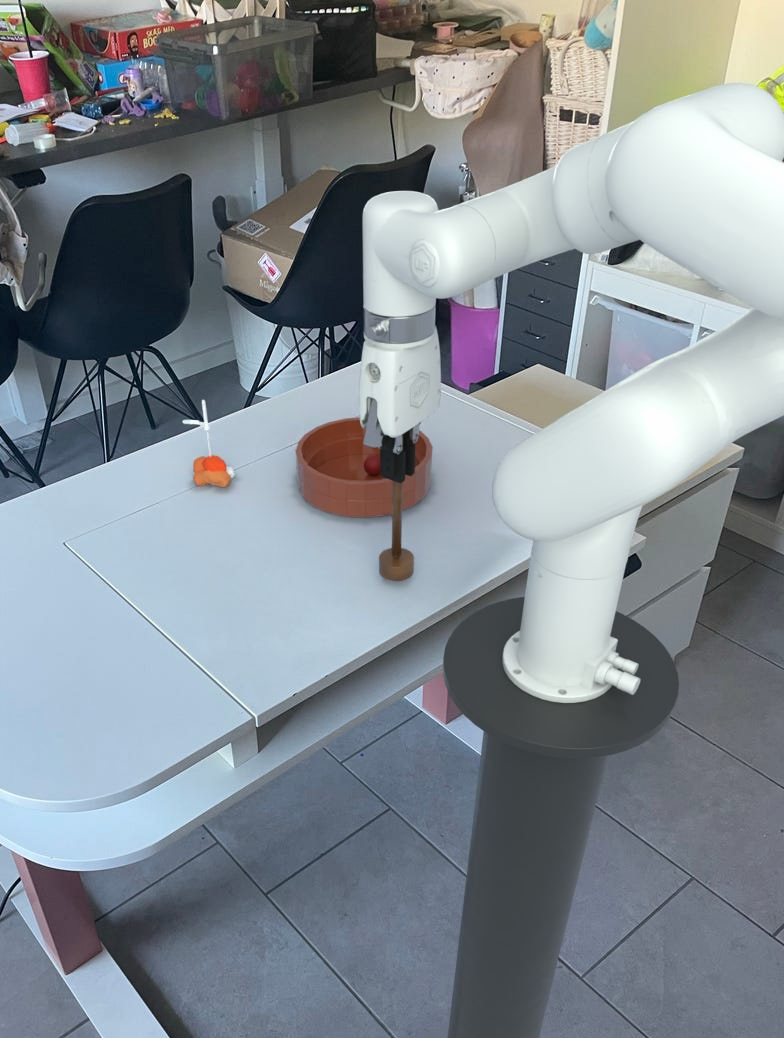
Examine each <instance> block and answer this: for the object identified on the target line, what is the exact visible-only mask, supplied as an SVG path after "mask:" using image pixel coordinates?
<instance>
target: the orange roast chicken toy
mask: <svg viewBox="0 0 784 1038" xmlns="http://www.w3.org/2000/svg"><path fill="white" fill-rule="evenodd" d="M206 403H207V402H206V400H205V399H202V400H201V408H202V415H203V421H200V420H198V419H183V420H182V424H184V425H199V426H200V427H203V431H205V432H206V433H205V434H206V440H207V447H208V454H209V455H208V456H203V455H202V456H199V457H197V458H195V459H194V460H193V465H192V468H193V469H192V470H193V473H194V474H193V476H192V479H193V482H194V484H195V485H196V486H197V487H203V486H208V485H212V486H215V487H221V488H228V486H229V487H230V484H231V481H232V479H234V478H235V476H236V475H235V470H234V469H233V467H231V466H227V464H226V462H225V460H224V459H223V458H222V457H220V456H218V455H216V454H215V455H214V454H213V455H212V451H211V449H212V448H211V441H210V434H209V433H210V432H209V431H210V430H211V426H210V425H209V419H208V412H207V405H206Z"/></svg>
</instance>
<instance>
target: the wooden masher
mask: <svg viewBox="0 0 784 1038" xmlns="http://www.w3.org/2000/svg"><path fill="white" fill-rule="evenodd" d="M402 450H403V435H402ZM402 531H403V511H402V483H398V482H395V481H392V514H391V547H390V548H387V549H384V550H382V551H381V552H380V553H379V555H378V573H379V575H380V577H381V578H382V579H384V580H387V581H390V582H403V581H407V580H408V579H410V578H411V577H412V576H413V575H414V572H415V556H414V553H413V552H412V551H410V550H409V549H406V548H403V547H402V540H403V539H402V537H403V534H402Z"/></svg>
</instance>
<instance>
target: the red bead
mask: <svg viewBox="0 0 784 1038" xmlns="http://www.w3.org/2000/svg"><path fill="white" fill-rule="evenodd" d="M364 469H365V471H366V472H367V473H368V474H369V475H373V476H374V475H378V474H380V457H379V456H377V455H371V456H369V457H367V458H366V459H365V461H364Z"/></svg>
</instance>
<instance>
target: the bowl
mask: <svg viewBox="0 0 784 1038" xmlns="http://www.w3.org/2000/svg"><path fill="white" fill-rule="evenodd" d="M365 432H366V429H364V428H362V426H361V423H360V417H358V416H357V417H347V418H341V419H337V420H331V421H328V422H325V423H323V424H321V425H318V426H316V427H314V428H312V429H311V430H309V431H307V432H306V433H305V434H304V435H303V436H302V437H301V438H300V439H299V441H297V445H296V448H295V467H296V485H297V490H298V492H299V494H300V495H301V497H302V498H303V499H304V500H305V501H306V502H308V503H309V504H310V505H312V506H313V507H315V508H316V509H318V510H321V511H324V512H327V513H329V514H334V515H338V516H343V517H349V518H351V517H353V518H374V517H375V518H376V517H383V516H388V515H392V480H390V479H387V478H384V477H382V476H381V475H380V474H378V475H374V476H373V475H369V474H368V473H367V472H366V471H365V469H364V461H365V459H366V458H367V457H369V456H371V455H377V456H379V457H380V448H378V447H376V448H373V447H370V446H367V445H365V444H364V437H365ZM388 436H389V435H388ZM391 438H392V437H391ZM413 444H415V473H414V474H413V475H412V476H408V475H405V481H404V482H402V512H403V511H405V510H407V509H410V508H411V507H413V506H415V505H417V504H418V503H420V502H421V501H422V500H423V499H425V497H426V495H427V494H428V492H429V491H430V490H431V482H432V465H433V445H432V442H431V441H430V438H429V437H428V436H427V435H426V434H425V433H424V432H423V431H422V430H420V429H419V437H418V440H417V442H415V443H413Z"/></svg>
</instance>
